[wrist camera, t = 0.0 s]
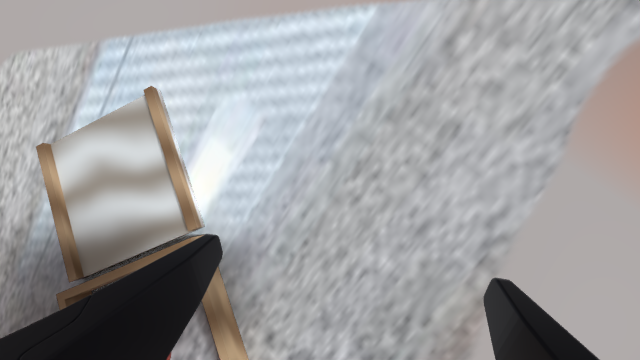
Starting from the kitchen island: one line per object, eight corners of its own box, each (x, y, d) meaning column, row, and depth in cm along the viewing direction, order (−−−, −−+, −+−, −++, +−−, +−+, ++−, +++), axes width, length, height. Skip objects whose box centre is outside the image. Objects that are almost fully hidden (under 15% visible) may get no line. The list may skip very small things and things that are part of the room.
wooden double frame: (260, 395, 24) (248, 418, 21) (121, 439, 26) (96, 464, 23) (160, 90, 28) (140, 80, 25) (49, 148, 30) (20, 144, 27)
